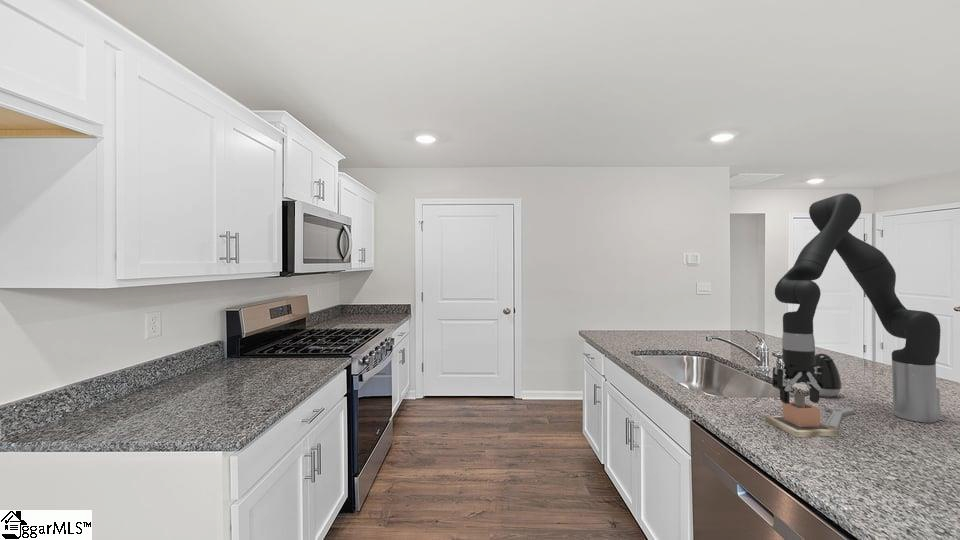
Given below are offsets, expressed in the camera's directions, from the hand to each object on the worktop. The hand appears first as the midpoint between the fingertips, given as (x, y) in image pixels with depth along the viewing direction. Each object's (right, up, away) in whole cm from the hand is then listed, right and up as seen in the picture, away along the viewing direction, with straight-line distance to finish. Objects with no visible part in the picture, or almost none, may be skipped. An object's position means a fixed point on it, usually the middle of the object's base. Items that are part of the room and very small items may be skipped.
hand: (799, 402), depth 117 cm
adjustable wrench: (+16, -8, +7) cm, 19 cm away
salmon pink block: (0, -6, 0) cm, 6 cm away
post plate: (0, -8, 0) cm, 8 cm away
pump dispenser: (+32, -7, +28) cm, 43 cm away
